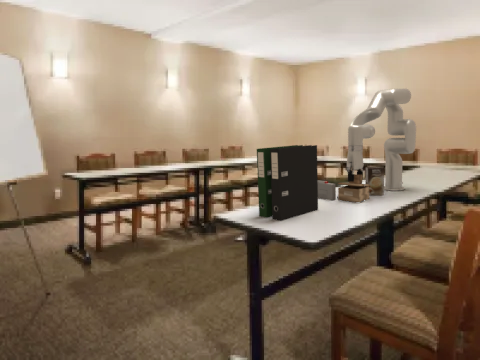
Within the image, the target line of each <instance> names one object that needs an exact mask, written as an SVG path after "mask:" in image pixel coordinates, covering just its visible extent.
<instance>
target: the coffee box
mask: <svg viewBox="0 0 480 360" xmlns="http://www.w3.org/2000/svg"><path fill="white" fill-rule="evenodd" d="M364 179H365V180H364V181H365V182H364V184H370V186H369V197H370V196H375V197H376V196H384V195H385V190H384V186H385V167H383V166H366V167H365V178H364Z"/></svg>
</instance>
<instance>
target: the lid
mask: <svg viewBox="0 0 480 360" xmlns="http://www.w3.org/2000/svg"><path fill="white" fill-rule="evenodd" d="M337 184H338V185H343V186H346V185H354V186H370V184H365V183H362V184H353V183H349V182H338V183H337Z"/></svg>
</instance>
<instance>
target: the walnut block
mask: <svg viewBox="0 0 480 360" xmlns="http://www.w3.org/2000/svg"><path fill="white" fill-rule="evenodd" d="M353 174H354V182H350V181H348V183H353V184H363V179H362V176H363V177H364V174H363V175H357V173H353Z"/></svg>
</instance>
